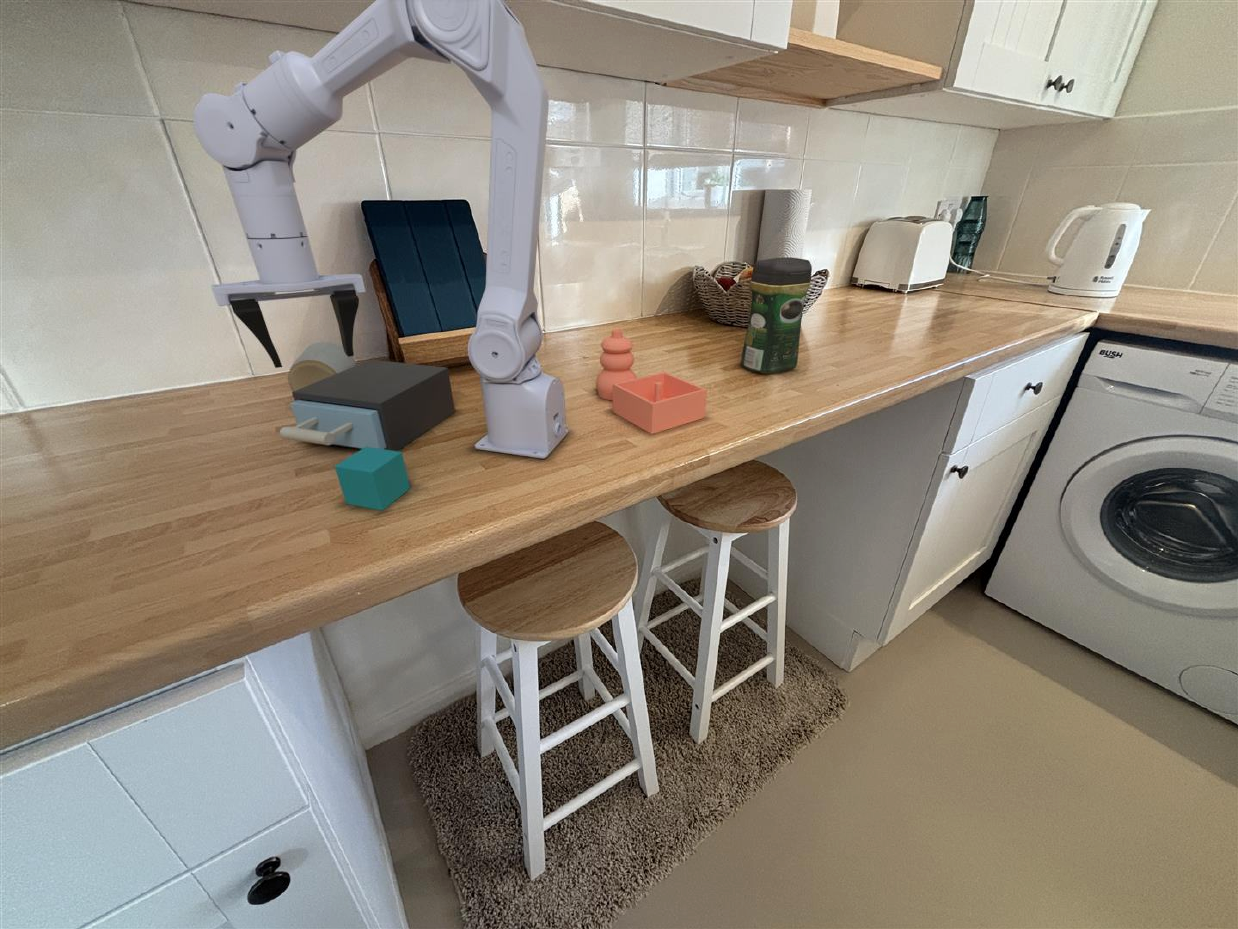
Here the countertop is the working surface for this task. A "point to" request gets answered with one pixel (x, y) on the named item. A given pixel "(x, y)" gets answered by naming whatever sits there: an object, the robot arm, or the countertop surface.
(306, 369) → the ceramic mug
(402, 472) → the teal toy cube
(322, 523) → the countertop surface
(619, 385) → the pink peg stacking toy
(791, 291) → the coffee jar
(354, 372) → the dark grey drawer cabinet
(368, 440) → the drawer
